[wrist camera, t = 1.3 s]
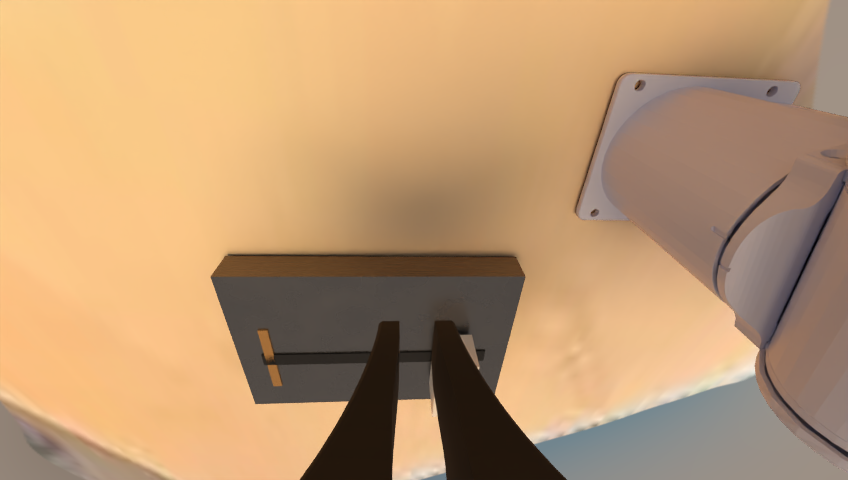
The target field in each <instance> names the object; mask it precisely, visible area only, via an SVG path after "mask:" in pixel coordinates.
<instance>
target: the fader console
mask: <svg viewBox="0 0 848 480" xmlns="http://www.w3.org/2000/svg"><path fill="white" fill-rule="evenodd" d="M211 279H212V282H213V285H214V288H215V291H216V293H217V296H218V299H219V302H220V305H221V308H222V310H223V313H224V316H225V319H226V322H227V325H228V327H229V330H230V333H231V336H232V339H233V342H234V344H235V347H236V350H237V353H238V356H239V359H240V361H241V364H242V367H243V370H244V373H245V375H246V378H247V381H248V384H249V387H250V390H251V392H252V395H253V398H254V401H255V404H271V403H305V402H339V401H350V399H351V397H352V395H353V393H354V390H355V388H356V386H357V384H358V382H359V380H360V378H361V376H362V373H363V371H364V369H365V366H366V364H367V361H368V359H369V356H370V354H371V351H372V348H373V345H374V342H375V339H376V335H377V331H378V325H379V323H380V322H382V321H399V325H400V349H399V391H398V400H407V399H431V398H430V386H429V381H430V370H431V355H432V344H433V333H434V322H435V321H436V320H452V321H453V322H454V323H455V325H456V328H457V330H458V332H459V335H472V337H473V341H474V346H475V350H476V354H477V358H478V363H479V371H480V373H481V375H482V376H483V378H484V379H485V381H486V383H487V384H488V386H489V387H490V389H491V390H492V392H493V393H494V394H495V390H496V386H497V383H498V379H499V375H500V371H501V367H502V364H503V360H504V356H505V352H506V348H507V344H508V341H509V337H510V333H511V329H512V325H513V322H514V318H515V314H516V310H517V306H518V303H519V299H520V295H521V291H522V287H523V283H524V280H525V275H524V273H523V271H522V269H521V267H520V265H519V263H518V261H517V259H516V257H356V256H225V257H224V259H223V260H222V262H221V263H220V264H219V266H218V267H217V269H216V270H215V271H214V273H213V274H212V276H211Z"/></svg>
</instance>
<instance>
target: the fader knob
mask: <svg viewBox="0 0 848 480" xmlns="http://www.w3.org/2000/svg"><path fill="white" fill-rule="evenodd" d="M460 337H461V339H462V341H463V343H464V345H465V347H466V349H467V350H468V352H469V354H470V356H471V358H472V360H473V361H474V363H475V365H476V366H477V368H478V370H479V363H478V358H477V354H476V350H475V346H474V341H473V337H472V335H460ZM429 386H430V398H431V409H432V417H437V416H438V415H437V409H436V403H435V397H434V391H433V381H432V365H431V370H430V381H429Z"/></svg>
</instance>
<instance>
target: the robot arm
mask: <svg viewBox="0 0 848 480" xmlns="http://www.w3.org/2000/svg"><path fill="white" fill-rule="evenodd" d="M639 80H640V81H641V85H640V86H639V88H637V89H636V90H635V84H636V82H638V81H639ZM770 88H771V89H770ZM769 89H770V91H769V92H768V93H767V91H768V90H769ZM799 91H800V84H799V82H796V81H788V80H768V79H748V78H727V77H707V76H687V75H666V74H646V73H626V74H624V75H622V76H621V77H620V78H619V80H618V82H617V84H616V87H615V90H614V93H613V96H612V100H611V103H610V106H609V109H608V112H607V115H606V118H605V121H604V125H603V128H602V131H601V134H600V137H599V140H598V143H597V146H596V150H595V153H594V156H593V159H592V162H591V165H590V168H589V171H588V175H587V178H586V181H585V184H584V187H583V190H582V193H581V196H580V200H579V203H578V206H577V209H576V215H577V216H578V217H579V218H580V219H582V220H629V221H632V222H633V223H634V224H635V225H636V226H638V227H639V228H640V229H641V230H642V231H643V232H644V233H646V234H647V235H648V236H649V237H650V238H651V239H652V240H654V241H655V242H656V243H657V244H658V245H659V246H660V247H661V248H663V249H664V250H665V251H666V252H667V253H668V254H669V255H671V256H672V257H673V258H674V259H675V260H676V261H677V262H679V263H680V264H681V265H682V266H683V267H684V268H685V269H687V270H688V271H689V272H690V273H691V274H692V275H693V276H694V277H696V278H697V279H698V280H699V281H700V282H701V283H702V284H704V285H705V286H706V287H707V288H708V289H709V290H710V291H712V292H713V293H714V294H715V295H716V296H717V297H718V298H720V299H721V300H722V301H723V302H725V303H726V304H727V305H728V306H729V307H730V308H731V309H732V310H733V311H734V313H735V316H736V320H735V327H736V328H737V329H738V330H740V331H741V332H742V333H743V334H744V335H745V336H746V337H747V338H748V339H749V340H750V341H751V342H753V343H754V344H755V345H756V346H757V347H758V348H759V349H760V350H759V352H758V355H757V357H756V363H755V373H756V380H757V383H758V385H759V388H760V391H761V393H762V395H763V397H764V398H765V400H766V402H767V404H768V405H769V406H770V408H771V409H772V410H773V411H774V413H775V414H776V416H777V417H778V418H779V419H780V420H781V422H782V423H784V425H785V426H786V427H787V428H788V429H789V430H790V431H791V432H792V433H793V434H794V435H795V436H797V437H798V438H799V439H800V440H801V441H803V442H804V443H805V444H806V445H807V446H809V447H810V448H811V449H812V450H813V451H815V452H816V453H818V454H819V455H821V456H822V457H823V458H825V459H826V460H828V461H829V462H830V463H832V464H833V465H835V466H836V467H838V468H840V469H841V470H843V471H845V472H846V473H848V117H844V116H840V115H836V114H831V113H827V112H823V111H818V110H814V109H810V108H805V107H801V106H796V105H792V103H793V102H794V100H795V98H796V96H797V95H798V93H799ZM594 209H596V211H595V212H594V213H592V214H591V212H592V211H593V210H594ZM399 349H400V325H399V321H382V322H380V323H379V325H378V331H377V335H376V339H375V342H374V345H373V348H372V351H371V354H370V356H369V359H368V361H367V364H366V366H365V369H364V371H363V373H362V376H361V378H360V380H359V382H358V384H357V386H356V388H355V390H354V393H353V395H352V397H351V399H350V401H349V402H348V404H347V406H346V408H345V410H344V412H343V414H342V415H341V417H340V419H339V421H338V422H337V424H336V426H335V428H334V429H333V431H332V432H331V434H330V436H329V437H328V439H327V440H326V442H325V444H324V445H323V447H322V448H321V450H320V451H319V453H318V455H317V456H316V457H315V459H314V460H313V462H312V463H311V465H310V466H309V467H308V469H307V470H306V472H305V473H304V475H303V476H302V477H301V479H300V480H392V463H393V448H394V437H395V425H396V414H397V403H398V391H399ZM431 365H432V381H433V391H434V397H435V403H436V409H437V415H438V421H439V427H440V433H441V439H442V444H443V450H444V458H445V465H446V477H447V480H567V479H566V478H565V477H563V475H562V474H561V473H560V472H559V471H558V470H557V469H556V468H555V467H554V466H553V465H552V464H551V463H550V462H549V461H548V460H547V459H546V458H545V456H544V455H543V454H542V453H541V452H540V451H539V450H538V449H537V448H536V446H535V445H534V444H533V443H532V442H531V441H530V440H529V439H528V437H527V436H526V435H525V434H524V433H523V431H522V430H521V429H520V428H519V426H518V425H517V424H516V423H515V422H514V420H513V419H512V418H511V416H510V415H509V414H508V413H507V411H506V410H505V409H504V407H503V406H502V404H501V403H500V402H499V400H498V399H497V397H496V396H495V395H494V393H493V392H492V390H491V389H490V387H489V386H488V384H487V383H486V381H485V379H484V378H483V376H482V375H481V373H480V371H479V370H478V368H477V366H476V365H475V363H474V361H473V360H472V358H471V356H470V354H469V352H468V350H467V349H466V347H465V345H464V343H463V341H462V339H461V337H460V335H459V332H458V330H457V328H456V325H455V323H454V322H453V321H452V320H436V321H435V322H434V333H433V344H432V355H431Z"/></svg>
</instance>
